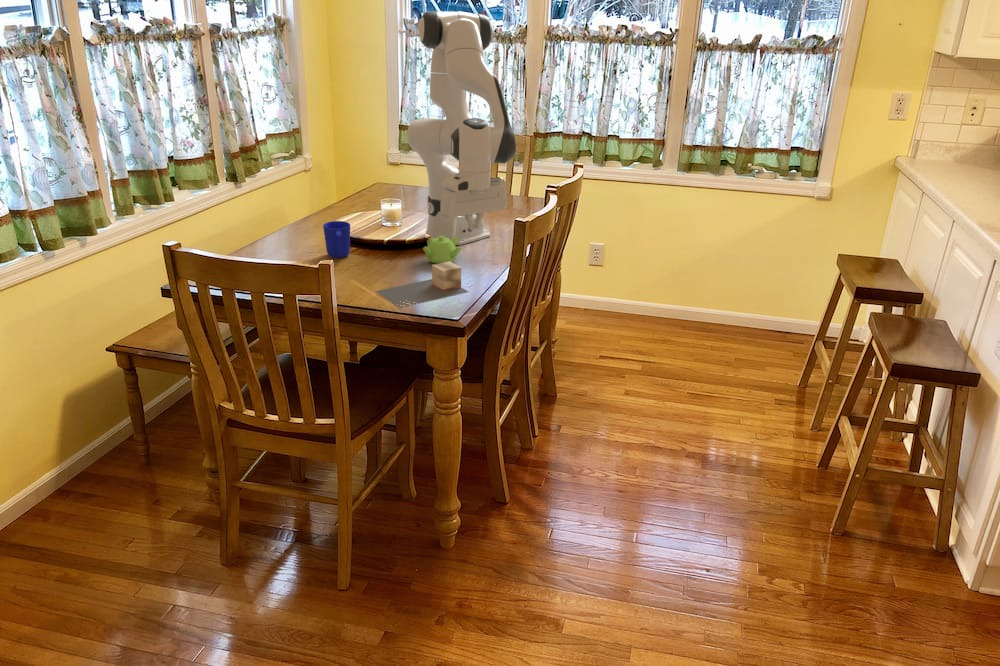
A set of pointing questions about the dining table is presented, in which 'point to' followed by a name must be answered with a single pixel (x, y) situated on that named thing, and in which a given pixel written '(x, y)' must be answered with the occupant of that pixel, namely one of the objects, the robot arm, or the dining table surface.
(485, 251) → the dining table surface
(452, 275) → the cube
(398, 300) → the mat
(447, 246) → the teapot
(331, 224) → the mug
